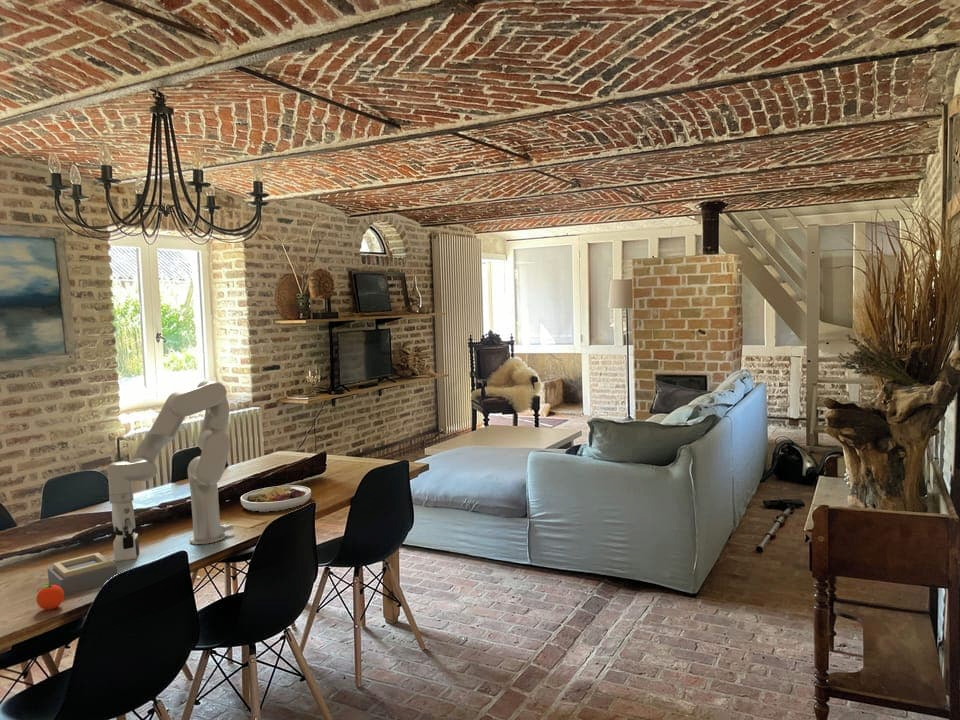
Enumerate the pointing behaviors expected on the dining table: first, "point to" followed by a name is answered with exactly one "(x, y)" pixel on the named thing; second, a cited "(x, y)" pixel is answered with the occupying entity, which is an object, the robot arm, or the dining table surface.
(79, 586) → the block
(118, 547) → the medicine bottle
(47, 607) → the clementine
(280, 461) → the dining table surface
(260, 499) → the bowl
